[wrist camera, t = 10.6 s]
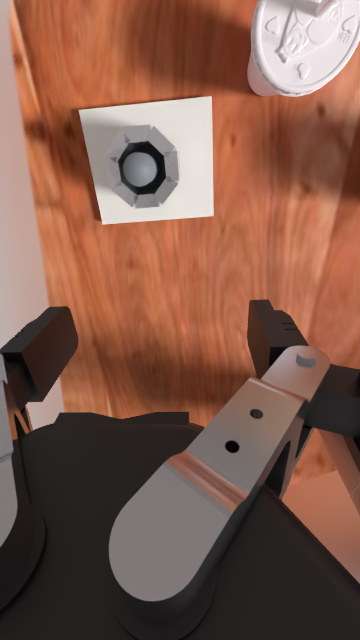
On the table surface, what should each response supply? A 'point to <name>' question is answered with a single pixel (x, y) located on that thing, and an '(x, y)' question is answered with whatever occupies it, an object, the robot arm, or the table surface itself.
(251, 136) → the table surface
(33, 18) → the table surface
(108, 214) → the shaft block
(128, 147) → the ring
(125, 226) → the table surface
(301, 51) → the smoothie
